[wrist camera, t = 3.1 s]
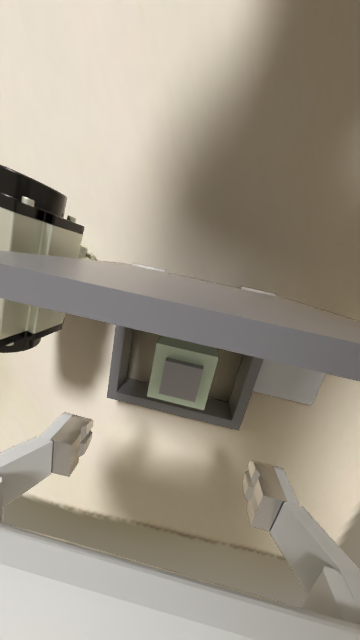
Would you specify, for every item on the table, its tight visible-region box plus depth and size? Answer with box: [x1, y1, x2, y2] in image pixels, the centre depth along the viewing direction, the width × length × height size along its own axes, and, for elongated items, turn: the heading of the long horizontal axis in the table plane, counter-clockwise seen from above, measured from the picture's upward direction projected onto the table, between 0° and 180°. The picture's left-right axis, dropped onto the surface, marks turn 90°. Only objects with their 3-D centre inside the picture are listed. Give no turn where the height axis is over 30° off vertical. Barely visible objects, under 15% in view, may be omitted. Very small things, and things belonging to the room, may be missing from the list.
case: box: [0, 250, 360, 430], centre depth 14 cm, size 15×15×17 cm
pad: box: [253, 359, 326, 405], centre depth 22 cm, size 9×7×1 cm
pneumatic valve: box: [0, 165, 96, 353], centre depth 16 cm, size 6×12×12 cm, turn 159°
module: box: [147, 335, 219, 410], centre depth 19 cm, size 5×5×8 cm
